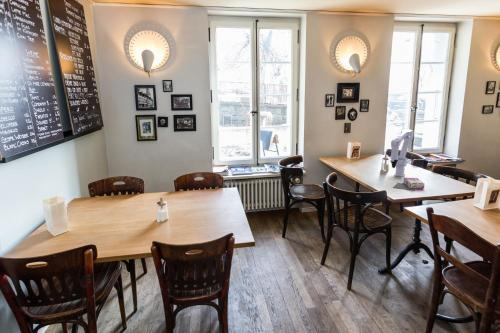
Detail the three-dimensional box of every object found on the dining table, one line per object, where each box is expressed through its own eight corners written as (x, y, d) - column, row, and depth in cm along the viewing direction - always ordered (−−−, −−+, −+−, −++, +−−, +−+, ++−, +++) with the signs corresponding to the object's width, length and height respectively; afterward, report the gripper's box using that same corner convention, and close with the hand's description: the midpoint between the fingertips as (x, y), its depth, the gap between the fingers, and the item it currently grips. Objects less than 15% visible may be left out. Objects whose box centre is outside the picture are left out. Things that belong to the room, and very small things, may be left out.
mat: (397, 182, 278) (397, 182, 278) (418, 185, 269) (418, 185, 268) (393, 187, 265) (393, 187, 265) (414, 190, 256) (414, 190, 256)
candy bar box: (402, 183, 276) (409, 188, 260) (403, 177, 274) (410, 182, 259) (416, 183, 274) (424, 189, 258) (417, 177, 273) (424, 183, 257)
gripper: (391, 151, 293) (390, 165, 296) (388, 154, 281) (386, 168, 284) (400, 152, 289) (398, 166, 292) (396, 154, 277) (395, 169, 280)
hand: (393, 167), depth 288 cm, fingers closed
